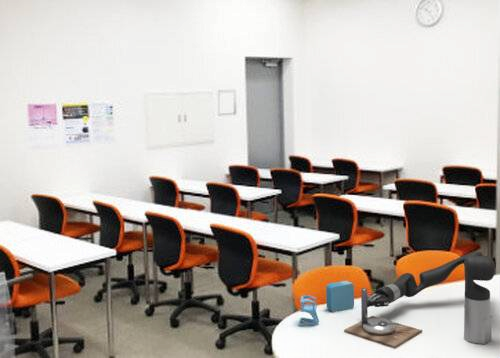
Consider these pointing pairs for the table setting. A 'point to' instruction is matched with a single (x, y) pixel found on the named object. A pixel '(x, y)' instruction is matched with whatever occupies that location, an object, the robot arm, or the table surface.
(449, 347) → the table surface
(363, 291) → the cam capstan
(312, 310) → the chair
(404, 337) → the base plate
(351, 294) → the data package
